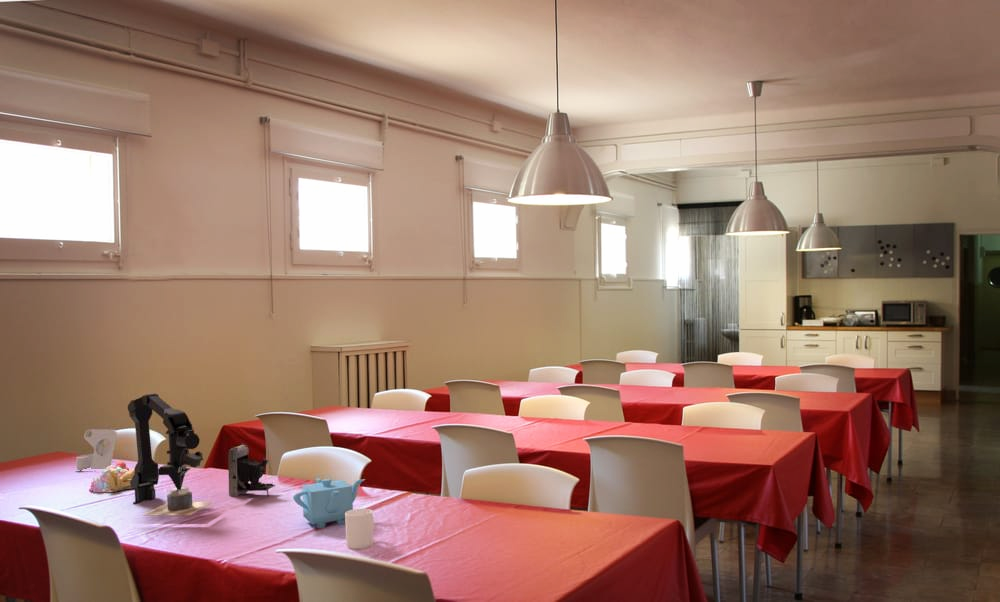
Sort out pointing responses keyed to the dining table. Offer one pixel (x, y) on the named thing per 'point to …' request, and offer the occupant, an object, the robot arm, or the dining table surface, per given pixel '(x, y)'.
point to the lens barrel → (179, 502)
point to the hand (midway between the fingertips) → (179, 489)
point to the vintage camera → (245, 472)
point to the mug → (359, 528)
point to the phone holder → (98, 449)
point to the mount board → (164, 510)
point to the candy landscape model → (113, 479)
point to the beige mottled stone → (179, 491)
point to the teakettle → (327, 500)
